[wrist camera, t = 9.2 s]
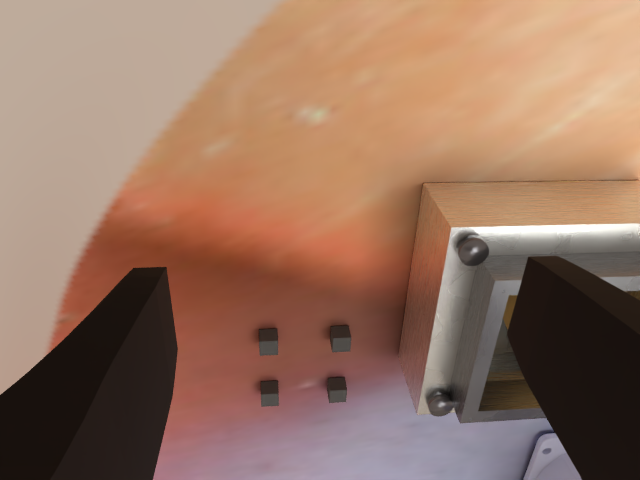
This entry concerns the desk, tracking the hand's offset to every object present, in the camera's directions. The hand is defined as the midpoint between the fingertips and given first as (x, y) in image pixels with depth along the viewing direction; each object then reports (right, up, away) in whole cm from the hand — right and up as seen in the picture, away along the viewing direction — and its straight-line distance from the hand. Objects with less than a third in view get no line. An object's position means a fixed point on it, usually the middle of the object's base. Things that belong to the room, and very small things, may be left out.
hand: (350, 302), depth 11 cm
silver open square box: (+8, 0, +13) cm, 15 cm away
